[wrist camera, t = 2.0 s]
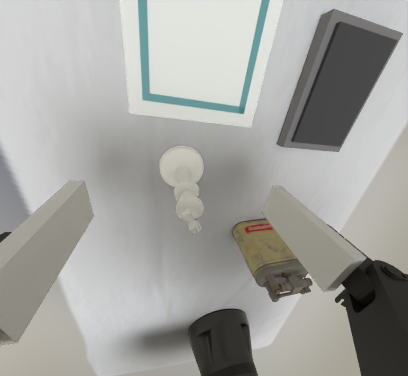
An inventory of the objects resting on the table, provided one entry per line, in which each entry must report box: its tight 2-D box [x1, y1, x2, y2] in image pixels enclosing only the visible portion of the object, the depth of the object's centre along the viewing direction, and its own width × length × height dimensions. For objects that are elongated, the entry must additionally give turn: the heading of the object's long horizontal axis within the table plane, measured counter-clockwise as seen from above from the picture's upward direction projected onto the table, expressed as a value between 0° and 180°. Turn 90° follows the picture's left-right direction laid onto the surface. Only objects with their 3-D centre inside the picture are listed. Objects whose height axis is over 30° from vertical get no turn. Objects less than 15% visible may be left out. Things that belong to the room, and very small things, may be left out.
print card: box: [119, 0, 284, 128], centre depth 13 cm, size 12×12×1 cm
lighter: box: [232, 219, 312, 302], centre depth 21 cm, size 7×4×10 cm, turn 89°
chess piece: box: [159, 145, 204, 234], centre depth 14 cm, size 5×5×10 cm
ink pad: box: [277, 9, 403, 152], centre depth 16 cm, size 11×8×2 cm
